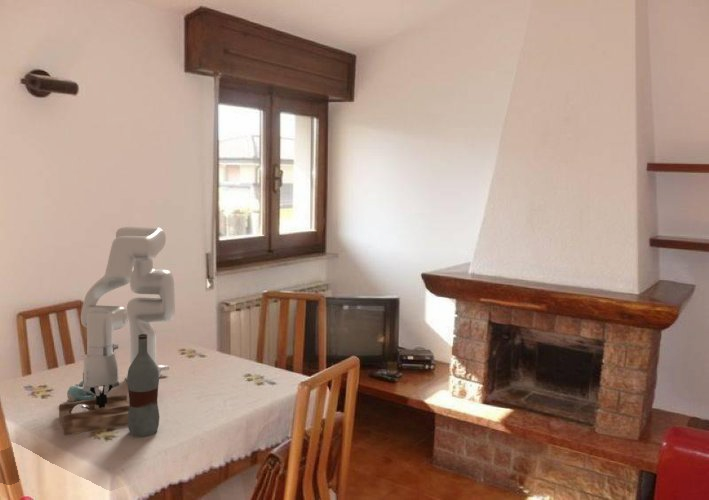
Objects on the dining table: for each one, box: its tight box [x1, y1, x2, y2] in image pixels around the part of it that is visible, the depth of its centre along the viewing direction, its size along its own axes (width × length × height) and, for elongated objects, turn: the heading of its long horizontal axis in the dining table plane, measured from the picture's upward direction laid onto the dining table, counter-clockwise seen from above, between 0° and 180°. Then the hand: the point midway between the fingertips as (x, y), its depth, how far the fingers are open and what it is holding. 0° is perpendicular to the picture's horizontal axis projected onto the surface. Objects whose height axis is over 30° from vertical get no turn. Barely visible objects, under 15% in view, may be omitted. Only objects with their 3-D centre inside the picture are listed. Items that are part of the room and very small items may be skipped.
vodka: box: [126, 334, 160, 438], centre depth 179 cm, size 9×9×30 cm
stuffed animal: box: [66, 380, 103, 403], centre depth 206 cm, size 11×7×12 cm
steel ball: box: [71, 404, 91, 414], centre depth 185 cm, size 6×6×6 cm
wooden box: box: [58, 394, 130, 436], centre depth 188 cm, size 20×16×5 cm
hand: (101, 406), depth 189 cm, fingers closed
